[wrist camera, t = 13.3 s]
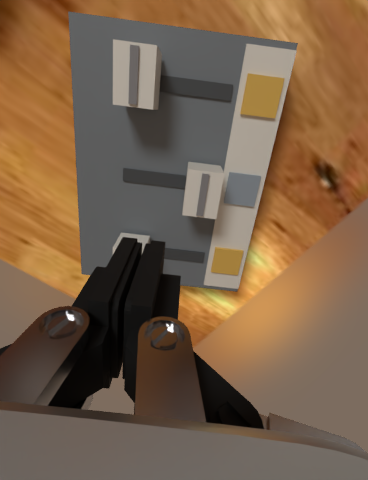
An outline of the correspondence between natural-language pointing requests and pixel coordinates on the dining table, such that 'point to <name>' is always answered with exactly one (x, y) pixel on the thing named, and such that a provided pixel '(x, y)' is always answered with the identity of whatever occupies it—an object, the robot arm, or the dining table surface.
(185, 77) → the console
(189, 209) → the slider
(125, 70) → the slider
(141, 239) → the slider
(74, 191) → the dining table surface
